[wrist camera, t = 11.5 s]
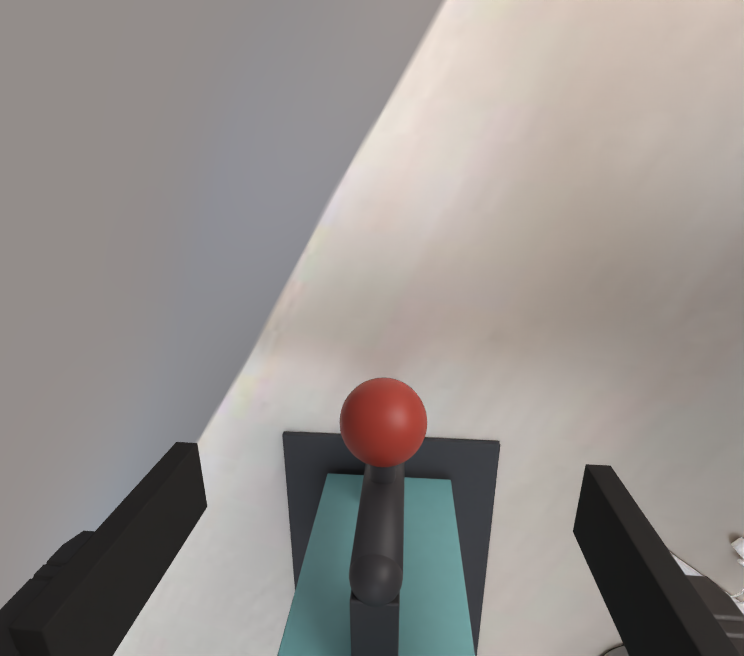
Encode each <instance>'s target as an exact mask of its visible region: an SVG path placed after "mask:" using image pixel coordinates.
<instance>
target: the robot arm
mask: <svg viewBox="0 0 744 656" xmlns="http://www.w3.org/2000/svg"><path fill="white" fill-rule="evenodd" d="M206 508H207V502H206V495H205V489H204V483H203V476H202V470H201V464H200V457H199V451H198V445H197V443H185V442H176V443H175V444H174V445H173V446H172V448H171V449H170V450H169V451H168V452H167V453H166V454H165V455H164V456H163V457H162V458H161V460H160V461H159V462H158V463H157V464H156V465H155V466H154V467H153V468H152V469H151V470H150V472H149V473H148V474H147V475H146V476H145V477H144V478H143V479H142V480H141V481H140V483H139V484H138V485H137V486H136V487H135V488H134V489H133V490H132V491H131V492H130V494H129V495H128V496H127V497H126V498H125V499H124V500H123V501H122V502H121V504H120V505H119V506H118V507H117V508H116V509H115V510H114V511H113V512H112V513H111V515H110V516H109V517H108V518H107V519H106V520H105V521H104V522H103V523H102V524H101V526H99V528H98V529H97V530H96V531H95V532H94V531H83V532H81V533H80V534H78V535H77V536H75V537H74V538H72V539H71V540H69V541H68V542H66V543H65V544H63V545H62V546H61V547H60V548H59V549H58V550H57V551H56V552H55V554H54V555H53V556H52V557H51V558H50V559H49V560H48V561H47V564H46V565H43V566H42V567H41V568H40V569H39V570H38V571H37V572H36V573H35V574H34V577H33V578H32V579H29V581H28V582H26V584H25V585H24V586H23V587H22V588H21V589H20V590H19V591H18V592H17V593H16V594H15V595H14V596H13V597H12V598H11V599H10V600H9V601H8V602H7V603H6V604H5V605H4V606H3V607H2V608H1V610H0V656H113V654H114V653H115V651H116V650H117V648H118V646H119V645H120V643H121V642H122V640H123V638H124V637H125V635H126V634H127V632H128V631H129V629H130V627H131V626H132V624H133V623H134V621H135V620H136V618H137V616H138V615H139V613H140V612H141V610H142V609H143V607H144V605H145V604H146V602H147V601H148V599H149V598H150V596H151V594H152V593H153V591H154V590H155V588H156V587H157V585H158V583H159V582H160V580H161V579H162V577H163V576H164V574H165V572H166V571H167V569H168V568H169V566H170V565H171V563H172V561H173V560H174V558H175V557H176V555H177V554H178V552H179V550H180V549H181V547H182V546H183V544H184V542H185V541H186V539H187V538H188V536H189V535H190V533H191V531H192V530H193V528H194V527H195V525H196V524H197V522H198V520H199V519H200V517H201V516H202V514H203V513H204V511H205V509H206ZM573 533H574V535H575V537H576V540H577V542H578V544H579V546H580V548H581V551H582V553H583V555H584V557H585V559H586V562H587V564H588V566H589V568H590V570H591V573H592V575H593V577H594V579H595V582H596V584H597V586H598V588H599V590H600V593H601V595H602V597H603V599H604V601H605V604H606V606H607V608H608V610H609V613H610V615H611V617H612V619H613V621H614V624H615V626H616V628H617V630H618V632H619V635H620V637H621V639H622V641H623V644H624V646H625V648H626V650H627V652H628V655H629V656H744V614H743V613H742V612H741V610H740V609H739V608H738V606H737V605H736V604H735V602H734V601H733V600H732V598H731V597H730V596H729V595H728V594H727V593H726V592H724V591H723V590H722V589H721V588H720V587H718V586H717V585H716V584H715V583H714V582H713V581H711V580H710V579H709V578H708V577H707V576H693V575H685V573H684V572H683V570H682V569H681V567H680V566H679V565H678V563H677V562H676V560H675V559H674V557H673V556H672V554H671V553H670V551H669V550H668V549H667V547H666V546H665V544H664V543H663V541H662V540H661V538H660V537H659V535H658V534H657V533H656V531H655V530H654V528H653V527H652V525H651V524H650V522H649V521H648V519H647V518H646V517H645V515H644V514H643V512H642V511H641V509H640V508H639V506H638V505H637V504H636V502H635V501H634V499H633V498H632V496H631V495H630V493H629V492H628V490H627V489H626V488H625V486H624V485H623V483H622V482H621V480H620V479H619V477H618V476H617V474H616V473H615V472H614V470H613V469H612V467H611V466H607V465H589V464H586V466H585V471H584V476H583V481H582V487H581V492H580V497H579V502H578V507H577V513H576V518H575V523H574V528H573Z"/></svg>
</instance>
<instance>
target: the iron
mask: <svg viewBox="0 0 744 656" xmlns="http://www.w3.org/2000/svg"><path fill="white" fill-rule="evenodd" d="M426 430H427V416H426V411H425V408H424V405H423V403H422V401H421V399H420V398H419V396H418V395H417V394H416V392H415V391H414V390H413V389H412V388H410V387H409V386H408V385H406V384H405V383H403V382H400V381H398V380H395V379H391V378H375V379H371V380H368V381H366V382H363V383H362V384H360V385H359V386H357V387H356V388H355V389H354V390H353V391H352V392H351V393H350V394H349V395H348V397H347V398H346V400H345V402H344V404H343V407H342V409H341V414H340V431H341V435H342V438H343V440H344V443H345V444H346V446H347V448H348V449H349V451H350V452H351V453H352V454H353V455H354V456H355V457H356V458H358V459H359V460H361V461H362V462H364V463H366V464H365V470H364V475H348V474H329V473H328V474H327V477H326V481H325V485H324V488H323V492H322V495H321V499H320V503H319V506H318V510H317V514H316V517H315V521H314V525H313V528H312V532H311V535H310V539H309V543H308V546H307V550H306V554H305V557H304V561H303V564H302V568H301V572H300V575H299V579H298V583H297V586H296V590H295V593H294V597H293V601H292V604H291V608H290V612H289V615H288V619H287V623H286V626H285V630H284V633H283V637H282V641H281V644H280V648H279V652H278V655H277V656H475V653H474V646H473V638H472V631H471V624H470V617H469V609H468V602H467V595H466V587H465V580H464V573H463V566H462V558H461V551H460V544H459V537H458V529H457V522H456V515H455V508H454V500H453V493H452V486H451V480H445V479H426V478H407V477H405V461H406V460H408V459H409V458H411V457H412V456H413V455H414V454H415V453H416V452H417V451H418V449H419V448H420V446H421V445H422V443H423V440H424V438H425V434H426Z"/></svg>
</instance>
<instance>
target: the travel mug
mask: <svg viewBox="0 0 744 656" xmlns="http://www.w3.org/2000/svg"><path fill="white" fill-rule="evenodd" d="M604 656H629V655H628V652H627V650H626V648H625V646H621V647H617V648H615V649H613V650H611V651H609V652H608V653H606V654H605V655H604Z"/></svg>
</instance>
